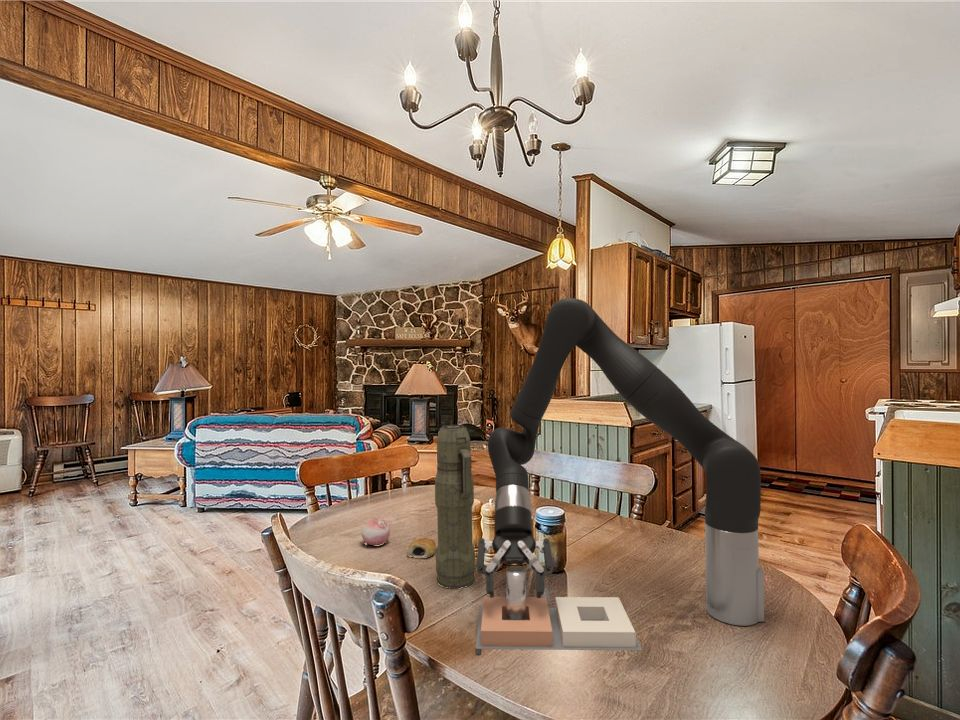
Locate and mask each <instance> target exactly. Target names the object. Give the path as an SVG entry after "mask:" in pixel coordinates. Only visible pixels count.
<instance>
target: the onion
mask: <svg viewBox="0 0 960 720" xmlns="http://www.w3.org/2000/svg"><path fill="white" fill-rule="evenodd" d="M390 531H391V528H390V524H389V523H388V521H386V520H385V519H383V518H381V517H376V518H373V519H370V520H368V521H367V522H366V523H365V524H364V525H363V527H362V529H361V538H362V539H363V541H364V543H365V542H366V543H367V544H370V545H380V544H383V543H385V542H386V543H387V542H388V541H389V538H390V534H391V532H390ZM386 543H385V544H386ZM370 545H369V546H370ZM383 545H384V544H383Z"/></svg>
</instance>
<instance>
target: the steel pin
mask: <svg viewBox="0 0 960 720" xmlns="http://www.w3.org/2000/svg"><path fill="white" fill-rule="evenodd" d="M505 574H506V578H505V579H506V580H505V581H506V584H505V589H506V590H505V591H506V592H505V593H506V594H505V595H506V596H505V597H506V620H526V597H527V571H526V569H524V568H522V567H509V568H507V569H506V573H505Z"/></svg>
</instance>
